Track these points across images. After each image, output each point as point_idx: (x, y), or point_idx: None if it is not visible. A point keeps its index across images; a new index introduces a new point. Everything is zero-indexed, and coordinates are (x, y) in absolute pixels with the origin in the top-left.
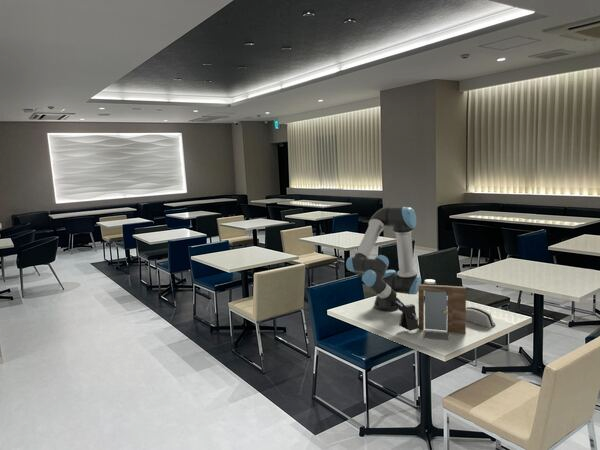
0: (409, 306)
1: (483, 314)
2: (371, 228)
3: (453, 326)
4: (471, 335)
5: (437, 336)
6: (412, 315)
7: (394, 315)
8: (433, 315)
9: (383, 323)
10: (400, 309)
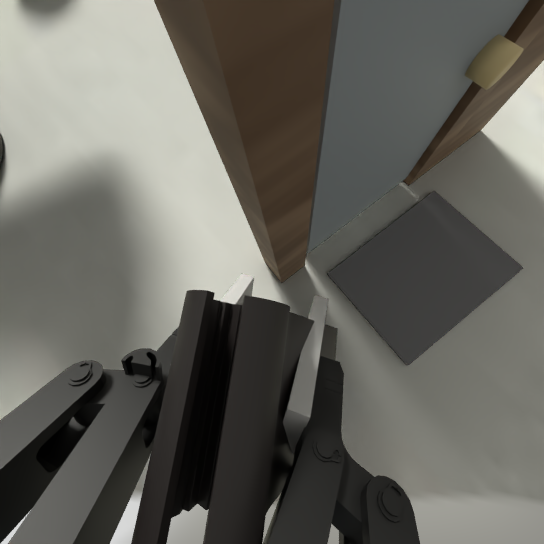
0: (248, 455)
1: None
2: None
3: (460, 134)
4: (511, 119)
5: (439, 278)
6: (337, 420)
7: (38, 220)
8: (375, 159)
9: (59, 371)
10: (122, 513)
